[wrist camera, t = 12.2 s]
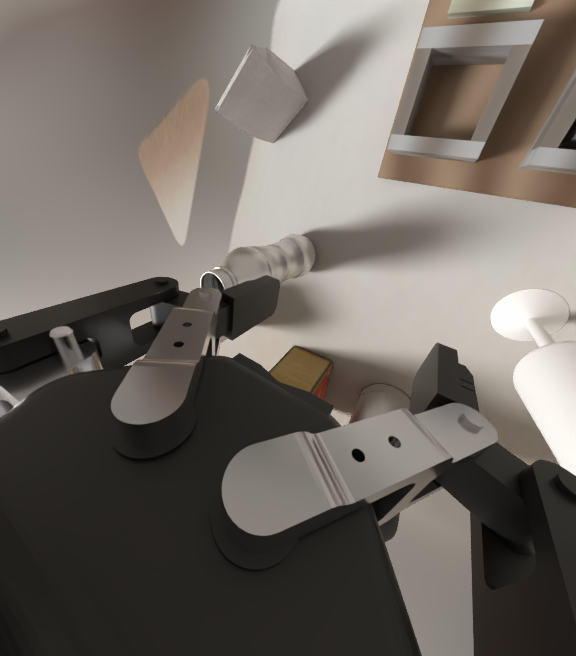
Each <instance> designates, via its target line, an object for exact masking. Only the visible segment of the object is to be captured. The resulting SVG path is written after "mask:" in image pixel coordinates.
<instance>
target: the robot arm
mask: <svg viewBox="0 0 576 656" xmlns="http://www.w3.org/2000/svg"><path fill="white" fill-rule="evenodd" d="M279 288H280V281H279V280H278V279H276V278H273V277H271V276H268V275H265V276H262V277H260V278H257V279H255V280H249V281H245V282H243V283H241V284H237V285H235V286H232V287H229V288H227V289H224V290H222V291H218V290H216V289H213V288H206V287H203V288H196V289H194V290H192V291H191V292H190V293H187V292H183V291H179V287H178V281H177V280H175V279H173V278H169V277H155V278H151V279H147V280H144V281H140V282H137V283H133V284H129V285H126V286H122V287H118V288H115V289H112V290H108V291H104V292H101V293H97V294H94V295H90V296H86V297H83V298H79V299H76V300H72V301H69V302H66V303H62V304H58V305H55V306H51V307H48V308H44V309H40V310H37V311H33V312H30V313H26V314H23V315H19V316H15V317H12V318H9V319H5V320H1V321H0V407H1V408H2V409H3V411H4V412H5V413H6V414H5V415H3V416H2V417H0V656H422V655H421V652H420V649H419V646H418V643H417V640H416V637H415V634H414V631H413V627H412V624H411V621H410V618H409V615H408V612H407V609H406V606H405V603H404V601H403V597H402V594H401V591H400V588H399V585H398V582H397V579H396V576H395V573H394V570H393V567H392V564H391V561H390V558H389V554H388V552H387V548H386V545H385V542H386V541H388V540H390V539H392V537H394V535H395V533H396V531H397V527H398V521H399V514H400V512H401V511H402V510H404V509H406V508H408V507H409V506H411V505H413V504H415V503H417V502H419V501H421V500H422V499H424V498H426V497H428V496H430V495H432V494H434V493H436V492H437V491H439V490H441V489H443V488H444V489H446V490H447V491H448V492H449V493H450V494H451V495H452V496H453V497H454V498H456V499H457V500H458V501H459V502H460V503H461V504H462V505H463V506H464V507H466V508H467V509H468V510H469V511H470V520H471V556H472V557H471V560H472V596H473V598H472V599H473V636H474V656H576V476H575V475H574V474H572V473H571V472H569V471H568V470H566V469H564V468H563V467H561V466H559V465H557V464H555V463H552V462H549V461H545V460H537V461H535V462H534V463H533V464H531V465H530V466H529V465H527V464H526V463H524V462H523V461H522V460H520V459H519V458H517V457H516V456H514V455H513V454H511V453H510V452H509V451H507V450H506V449H505V448H503V447H502V446H501V445H499V444H498V443H497V440H498V434H497V431H496V429H495V428H494V426H493V425H492V424H491V422H490V421H489V420H488V419H487V418H486V417H484V416H483V415H482V414H481V413H479V408H478V402H477V397H476V393H475V386H474V380H473V376H472V374H471V373H470V372H469V370H468V369H467V368H466V366H463V365H461V364H459V363H458V355H457V350H455V349H452V348H450V347H447V346H445V345H442V344H440V343H436V344H435V346H434V347H433V348H432V350H431V352H430V353H429V355H428V356H427V358H426V359H425V361H424V362H423V364H422V366H421V367H420V369H419V370H418V372H417V374H416V376H415V379H414V382H413V389H412V395H411V400H410V399H409V398H408V396H407V395H406V394H404V393H403V392H402V391H400V390H399V389H397V388H395V387H392V386H389V385H385V384H373V385H370V386H368V387H366V388H365V389H364V390H363V391H362V393H361V395H360V397H359V400H358V402H357V405H356V407H355V409H354V411H353V414H352V416H351V419H350V421H349V423H348V424H347V425H344V426H341V425H340V424H339V423H338V422H337V421H336V420H335V418H333V417H332V416H331V415H330V414H331V412H332V409H333V407H334V406H333V405H331V404H329V403H327V402H326V401H324V400H322V399H320V398H319V397H317V396H315V395H313V394H311V393H310V392H308V391H305V390H302V389H299V388H296V387H293V386H290V385H287V384H284V383H281V382H279V381H278V380H276V379H275V378H274V377H273V376H272V375H271V374H270V373H269V372H268V371H267V370H265V369H264V368H263V367H262V366H261V365H260V364H258V363H256V362H255V361H253V360H251V359H249V358H247V357H246V356H244V355H242V354H240V353H239V354H238V355H236V356H235V357H234V358H229V357H225V356H218V353H219V348H220V343H221V337H222V336H225V337H226V338H228V339H230V340H234V339H235V338H237V337H238V336H240V335H241V334H243V333H245V332H246V331H248V330H249V329H251V328H252V327H254V326H256V325H257V324H259V323H260V322H262V321H263V320H265V319H266V318H268V317H270V316H271V315H272V314H273V313H274V311H275V309H276V306H277V300H278V294H279ZM148 307H150V313H151V319H152V321H151V322H148V323H146V324H144V325H141V326H139V327H137V328H134V329H132V330H131V327H130V318H131V316H132V315H133V314H134V313H136V312H138V311H140V310H143V309H146V308H148ZM144 354H146V356H145V357H144V358H143V359H142V360H137V361H136V362H135V363H134V364H133V365H130V366H125V365H127V364H128V363H130V362H132V361H134V360H135V359H137V358H139V357H141V356H143V355H144Z"/></svg>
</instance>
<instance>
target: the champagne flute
mask: <svg viewBox="0 0 576 656" xmlns="http://www.w3.org/2000/svg"><path fill="white" fill-rule="evenodd" d="M568 317H569V307H568V304H567V302H566V301H565V300H564V299H563V298H562V297H561V296H559V295H558V294H556V293H553V292H551V291H547V290H543V289H526V290H521V291H517V292H515V293H512V294H510V295H508V296H506V297H504V298H503V299H501V300H500V301H499V302H498V303H497V304H496V305H495V307H494V308H493V310H492V312H491V319H490V320H491V324H492V326H493V328H494V329H495V330H496V331H497V332H498V333H499V334H501V335H502V336H504V337H506V338H509V339H512V340H518V341H533V340H535V341H536V343H537V344H538V346H539V348H536V349H535V350H533V351H531V352H529V353H528V354H527V355H526V356H524V357H523V358H522V359H521V360H520V361H519V363H518V364H517V365H516V368H515V370H514V376H513V382H514V387H515V388H516V390H517V392H518V394H519V396H520V397H521V399H522V401H523V403H524V404H525V406H526V408H527V409H528V411H529V413H530V415H531V416H532V418H533V420H534V421H535V423H536V425H537V427H538V428H539V430H540V432H541V433H542V435H543V437H544V439H545V440H546V442H547V444H548V445H549V447H550V449H551V451H552V452H553V454H554V456H555V457H556V459H557V461H558V463H559V464H560V466H561V467H563V468H564V469H566V470H568V471H569V472H571V473H572V474H574V475H575V476H576V341H564V342H555V341H554V340H553V338H552V337H551V336H550V335H552V334H554V333H556V332H557V331H558V330H560V329H561V328H562V327H563V326H564V325H565V323H566V322H567V320H568Z"/></svg>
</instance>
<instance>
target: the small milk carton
mask: <svg viewBox="0 0 576 656" xmlns="http://www.w3.org/2000/svg"><path fill="white" fill-rule="evenodd" d="M308 100H309V99H308V97H307V95H306V93H305V91H304V89H303V87H302V85H301V83H300V81H299V79H298V77H297V75H296V73H295V71H294V70H293V69H292V68H291V67H289V66H288V65H287V64H286V63H285V62H284V61H282V60H281V59H280V58H279V57H278V56H276V55H275V54H274V53H273V52H272V51H271V50H269V49H268V48H258V47H255V46H253V45H251V46H250V48H249V49H248V51H247V53H246V55H245V57H244V58H243V60H242V62H241V64H240V65H239V67H238V69H237V71H236V73H235V74H234V76H233V78H232V80H231V81H230V83H229V85H228V87H227V88H226V90H225V92H224V94H223V96H222V97H221V99H220V101H219V103H218V104H217V106H216V108H215V110H217V113H218V114H220V115H221V116H223V117H224V118H226V119H227V120H228V121H230V122H231V123H232V124H234V125H235V126H236V127H238V128H239V129H240V130H242V131H243V132H244V133H245V134H247V135H249V136H252V137H255V138H258V139H262V140H265V141H268V142H271V143H274V142H275V140H276V139H277V138H278V137H279V136H280V134H281V133H282V132H283V131H284V130H285V128H286V127H287V126H288V125H289V123H290V122H291V121H292V120H293V119H294V117H295V116H296V115H297V114H298V113H299V111H300V110H301V109H302V108H303V106H304V105H305V104H306V103H307V102H308Z"/></svg>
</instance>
